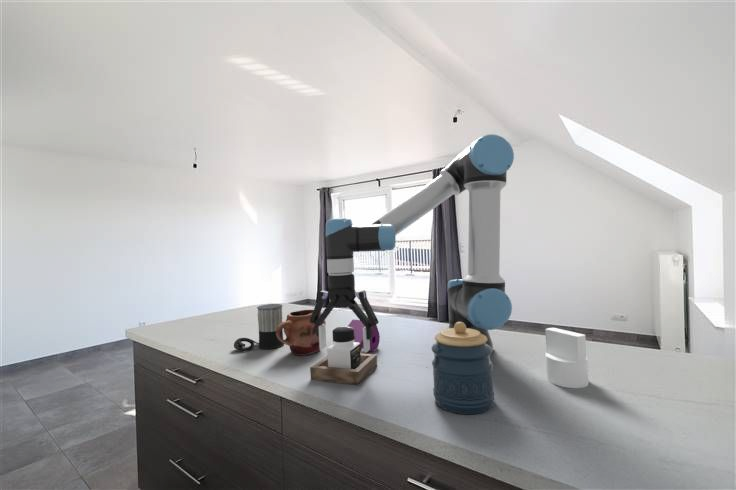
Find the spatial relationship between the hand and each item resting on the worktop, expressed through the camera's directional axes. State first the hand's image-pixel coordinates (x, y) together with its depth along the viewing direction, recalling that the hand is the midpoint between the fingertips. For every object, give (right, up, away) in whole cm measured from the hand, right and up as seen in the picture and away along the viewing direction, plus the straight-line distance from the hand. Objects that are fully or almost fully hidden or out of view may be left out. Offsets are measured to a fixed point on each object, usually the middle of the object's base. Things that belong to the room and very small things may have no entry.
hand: (344, 349), depth 96 cm
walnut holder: (0, -7, 0) cm, 7 cm away
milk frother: (-33, -8, +29) cm, 44 cm away
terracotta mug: (-16, -8, +20) cm, 26 cm away
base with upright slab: (+56, -4, -12) cm, 57 cm away
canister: (+28, -6, -20) cm, 35 cm away
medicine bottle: (0, -6, 0) cm, 6 cm away
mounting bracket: (+2, -7, +17) cm, 18 cm away
